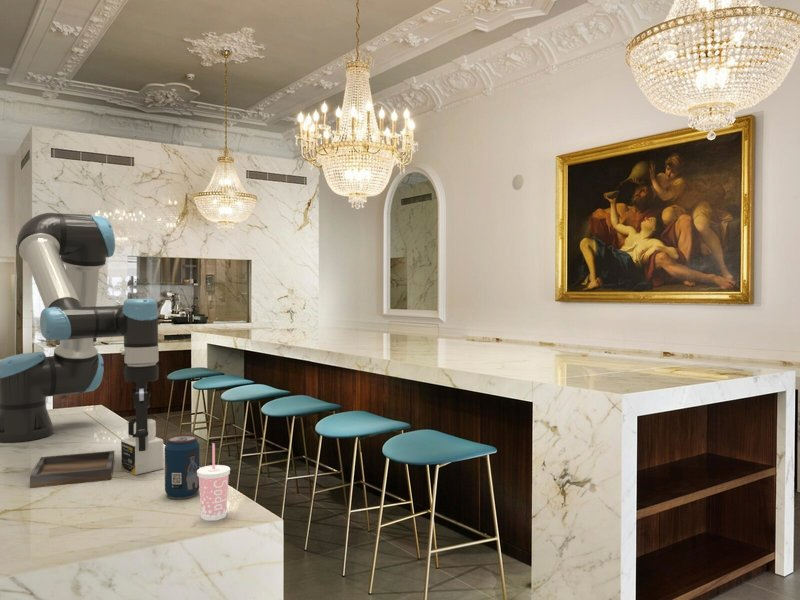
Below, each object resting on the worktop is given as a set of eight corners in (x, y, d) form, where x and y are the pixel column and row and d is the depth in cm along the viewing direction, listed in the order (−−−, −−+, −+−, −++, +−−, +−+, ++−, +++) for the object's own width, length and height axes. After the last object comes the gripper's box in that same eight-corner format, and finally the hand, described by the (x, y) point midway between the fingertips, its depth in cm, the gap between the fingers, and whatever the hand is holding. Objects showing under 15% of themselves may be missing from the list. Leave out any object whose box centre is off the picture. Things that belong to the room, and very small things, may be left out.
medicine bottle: (121, 469, 153) (120, 419, 153) (150, 463, 159) (149, 414, 158) (134, 475, 149) (134, 423, 148) (164, 469, 154) (163, 418, 153)
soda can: (172, 488, 140) (172, 433, 139) (204, 489, 139) (204, 433, 139) (159, 499, 133) (159, 441, 132) (193, 500, 132) (192, 442, 132)
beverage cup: (199, 524, 120) (198, 449, 119) (195, 512, 125) (194, 441, 125) (232, 519, 122) (232, 445, 122) (227, 508, 128) (227, 438, 127)
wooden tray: (41, 467, 155) (41, 456, 155) (114, 460, 161) (114, 450, 161) (30, 487, 140) (29, 476, 140) (111, 479, 146) (110, 468, 146)
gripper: (125, 359, 162) (126, 448, 162) (122, 371, 141) (123, 473, 142) (157, 358, 164) (158, 445, 165) (159, 369, 144) (160, 469, 145)
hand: (142, 458), depth 154 cm, fingers closed on medicine bottle, 9 cm apart
